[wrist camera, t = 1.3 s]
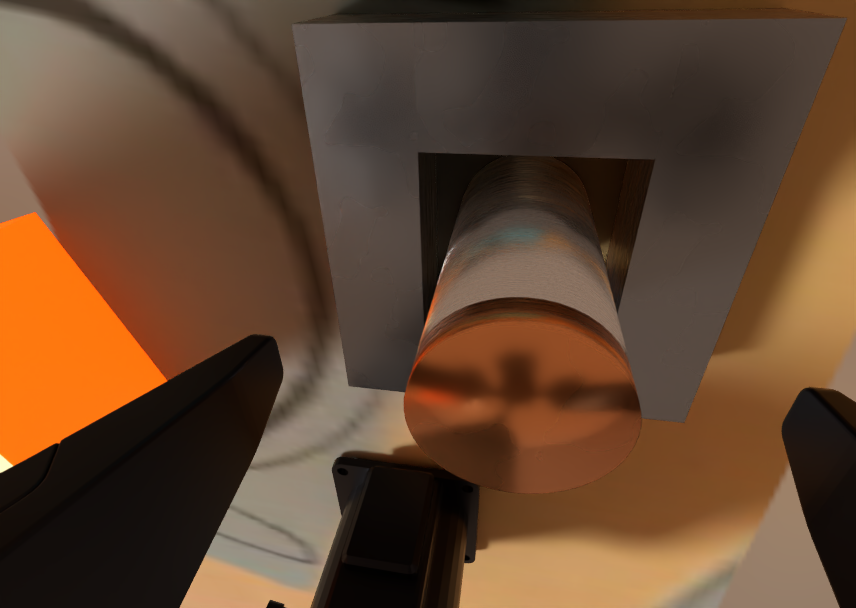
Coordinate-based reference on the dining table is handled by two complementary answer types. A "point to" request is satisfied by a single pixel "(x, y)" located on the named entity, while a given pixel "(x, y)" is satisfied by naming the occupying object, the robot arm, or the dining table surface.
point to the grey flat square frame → (559, 137)
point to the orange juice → (57, 346)
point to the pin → (524, 340)
